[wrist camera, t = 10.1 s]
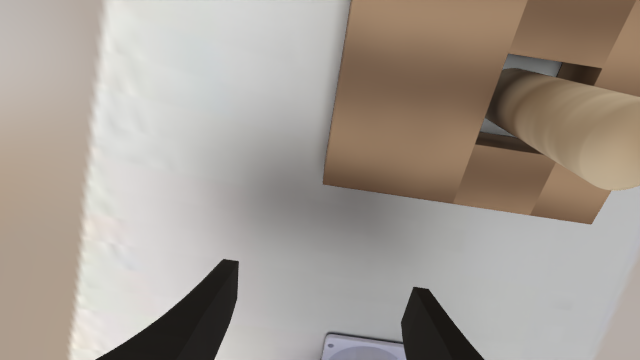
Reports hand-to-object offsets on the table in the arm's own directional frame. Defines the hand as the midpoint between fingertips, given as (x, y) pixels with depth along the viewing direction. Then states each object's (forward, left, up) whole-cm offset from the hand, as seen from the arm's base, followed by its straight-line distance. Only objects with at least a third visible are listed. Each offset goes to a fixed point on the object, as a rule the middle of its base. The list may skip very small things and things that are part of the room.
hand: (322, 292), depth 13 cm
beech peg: (+8, -9, -10) cm, 16 cm away
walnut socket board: (+8, -7, -10) cm, 15 cm away
